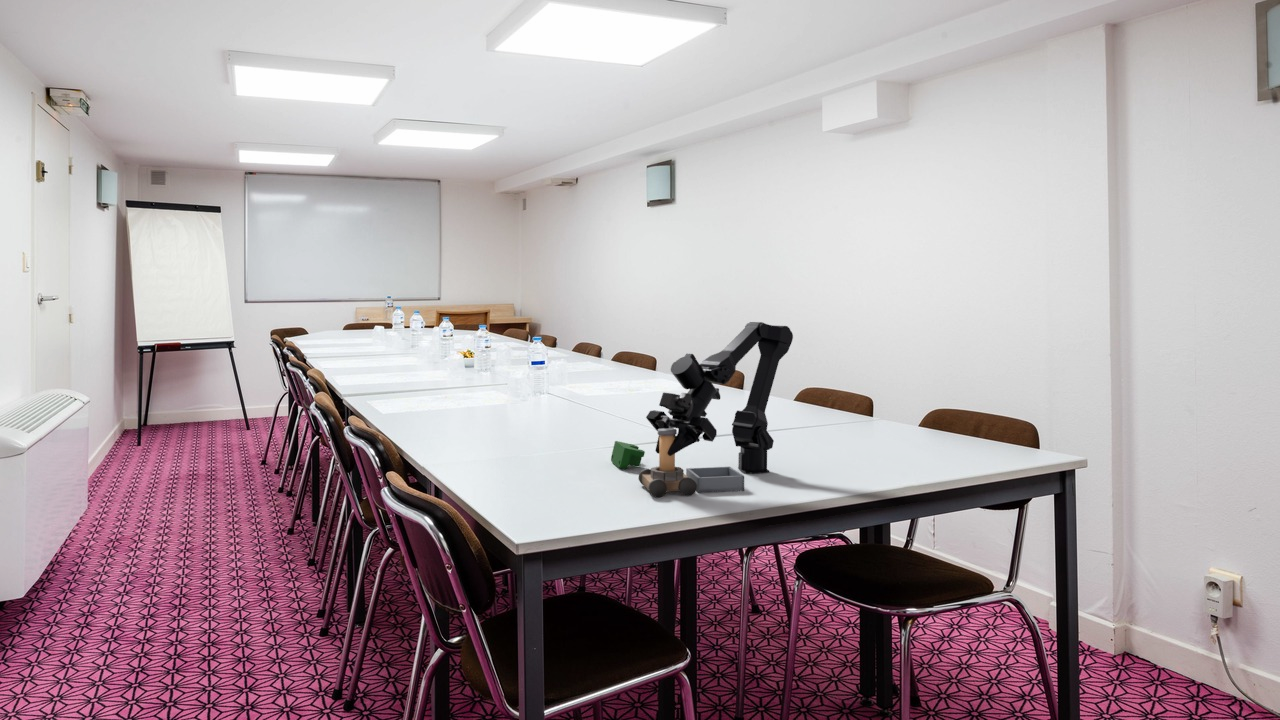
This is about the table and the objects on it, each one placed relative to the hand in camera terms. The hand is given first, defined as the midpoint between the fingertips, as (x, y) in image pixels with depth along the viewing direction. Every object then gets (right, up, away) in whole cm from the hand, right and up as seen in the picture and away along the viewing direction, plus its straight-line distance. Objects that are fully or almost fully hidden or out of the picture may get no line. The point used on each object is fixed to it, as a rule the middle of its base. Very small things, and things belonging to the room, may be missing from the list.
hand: (662, 453), depth 190 cm
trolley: (+1, -9, +2) cm, 9 cm away
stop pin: (+1, -6, +1) cm, 6 cm away
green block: (-9, -7, +31) cm, 33 cm away
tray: (+12, -9, +5) cm, 16 cm away
